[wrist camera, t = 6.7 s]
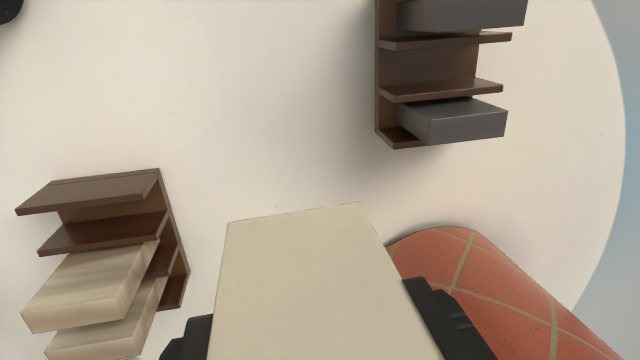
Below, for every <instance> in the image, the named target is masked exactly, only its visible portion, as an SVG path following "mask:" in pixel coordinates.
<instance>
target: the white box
mask: <svg viewBox="0 0 640 360" xmlns="http://www.w3.org/2000/svg"><path fill="white" fill-rule="evenodd" d="M401 279H402V278H401V276H400V274H399V273H398V271H397V269H396V267H395V265H394V264H393V262H392V260H391V258H390V256H389V254H388V253H387V251H386V249H385V247H384V245H383V244H382V242H381V240H380V238H379V236H378V234H377V233H376V231H375V229H374V227H373V225H372V224H371V222H370V220H369V218H368V216H367V214H366V213H365V211H364V209H363V207H362V205H361V203H360V202H355V203H348V204H342V205H335V206H329V207H323V208H316V209H310V210H303V211H297V212H291V213H284V214H278V215H272V216H265V217H259V218H252V219H246V220H240V221H233V222H228V225H227V232H226V238H225V244H224V250H223V256H222V263H221V269H220V275H219V281H218V287H217V294H216V300H215V306H214V312H213V318H212V325H211V331H210V337H209V343H208V350H207V356H206V360H445V359H444V357H443V355H442V353H441V352H440V350H439V348H438V346H437V344H436V342H435V341H434V339H433V337H432V335H431V333H430V331H429V330H428V328H427V326H426V324H425V322H424V320H423V319H422V317H421V315H420V313H419V311H418V309H417V308H416V306H415V304H414V302H413V300H412V298H411V296H410V295H409V293H408V291H407V289H406V287H405V285H404V284H403V282H402V280H401Z"/></svg>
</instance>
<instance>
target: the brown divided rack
mask: <svg viewBox="0 0 640 360" xmlns="http://www.w3.org/2000/svg"><path fill="white" fill-rule="evenodd" d="M527 3H528V0H376V9H375V132H376V133H377V134H378V135H379V136H380V137H381V138H382V139H383V140H384V141H385V142H386V143H387V144H388V145H389V146H390V147H391V148H392V149H393V150H395V149H403V148H411V147H419V146H427V145H428V146H431V145H439V144H447V143H455V142H464V141H472V140H480V139H488V138H496V137H503V136H504V131H505V126H506V120H507V114H508V111H507V110H505V109H502V108H499V107H496V106H494V105H491V104H488V103H485V102H483V101H480V100H477V99H474V98H472V96H473V95H479V94H489V93H498V92H502V91H503V85H502V84H499V83H495V82H491V81H487V80H483V79H480V78H476V77H475V73H476V65H477V58H478V50H479V44H484V43H495V42H506V41H511V37H512V32H491V31H481V29H489V28H501V27H513V26H523V25H524V20H525V14H526V8H527Z"/></svg>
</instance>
